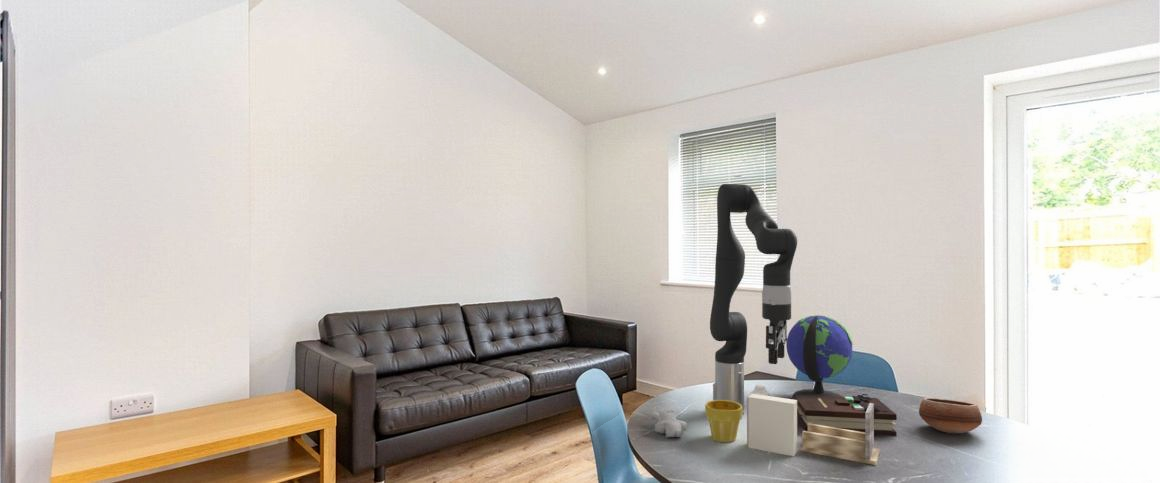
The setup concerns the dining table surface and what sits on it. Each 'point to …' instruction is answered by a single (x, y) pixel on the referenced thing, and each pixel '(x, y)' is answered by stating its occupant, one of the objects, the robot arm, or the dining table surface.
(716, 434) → the plant pot
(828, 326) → the globe
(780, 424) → the slim book
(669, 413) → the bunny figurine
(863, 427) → the decorative book
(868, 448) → the book rack
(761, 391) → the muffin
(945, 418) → the bowl
